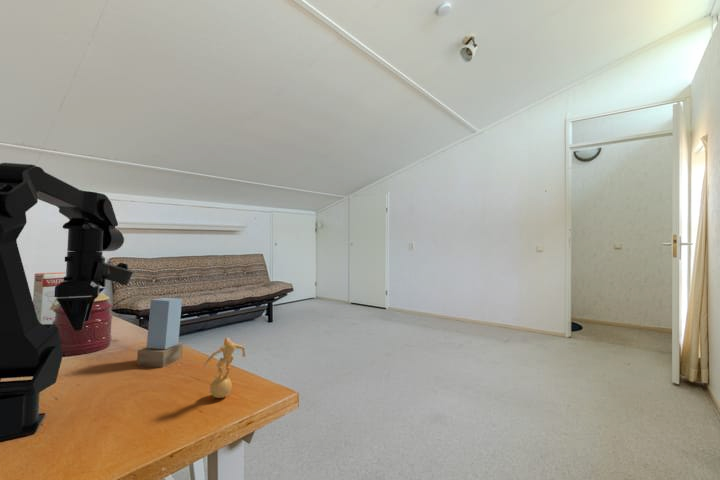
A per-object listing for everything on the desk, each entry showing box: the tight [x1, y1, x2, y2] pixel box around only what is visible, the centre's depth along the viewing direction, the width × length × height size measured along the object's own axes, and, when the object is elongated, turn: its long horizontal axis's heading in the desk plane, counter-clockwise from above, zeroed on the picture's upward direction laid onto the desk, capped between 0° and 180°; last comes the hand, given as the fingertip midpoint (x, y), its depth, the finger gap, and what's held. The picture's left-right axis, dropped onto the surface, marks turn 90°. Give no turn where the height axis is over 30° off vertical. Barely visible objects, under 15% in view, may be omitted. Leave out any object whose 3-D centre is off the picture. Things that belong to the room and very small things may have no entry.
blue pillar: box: [146, 297, 183, 349], centre depth 83 cm, size 5×5×12 cm
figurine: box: [203, 337, 246, 399], centre depth 63 cm, size 8×6×12 cm
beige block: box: [136, 343, 184, 368], centre depth 82 cm, size 7×7×4 cm
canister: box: [52, 292, 114, 356], centre depth 91 cm, size 13×13×18 cm
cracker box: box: [32, 271, 66, 324], centre depth 100 cm, size 14×6×21 cm, turn 155°
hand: (81, 325), depth 67 cm, fingers open, 9 cm apart
